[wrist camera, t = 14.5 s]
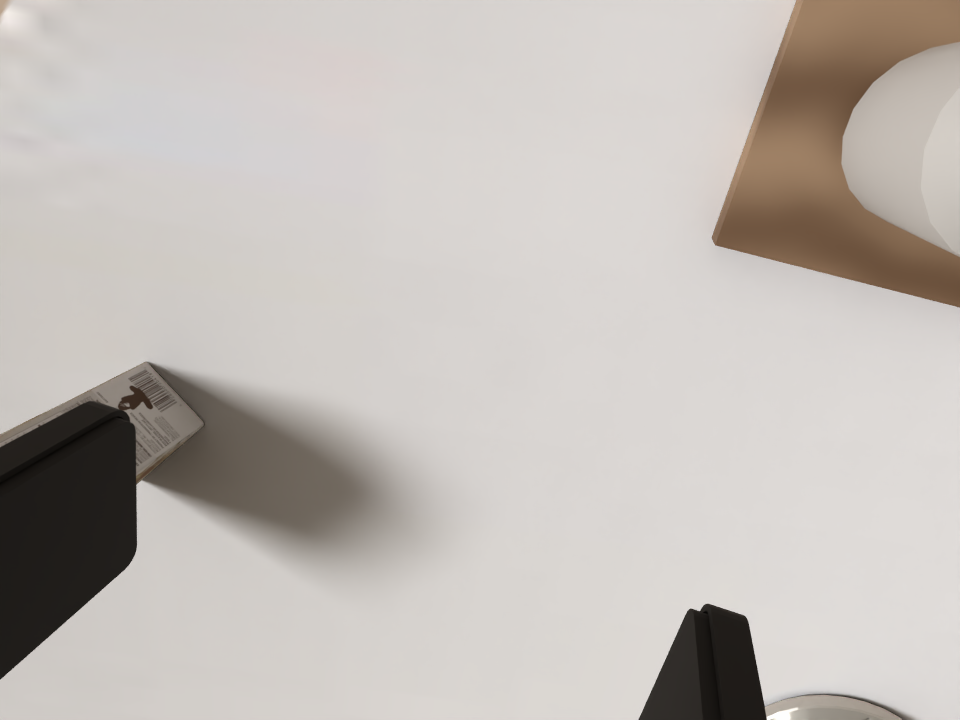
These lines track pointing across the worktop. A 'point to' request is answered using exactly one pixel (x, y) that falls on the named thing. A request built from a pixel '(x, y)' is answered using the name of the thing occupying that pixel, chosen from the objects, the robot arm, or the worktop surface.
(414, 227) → the worktop surface
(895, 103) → the can
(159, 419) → the coffee box
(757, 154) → the walnut board
